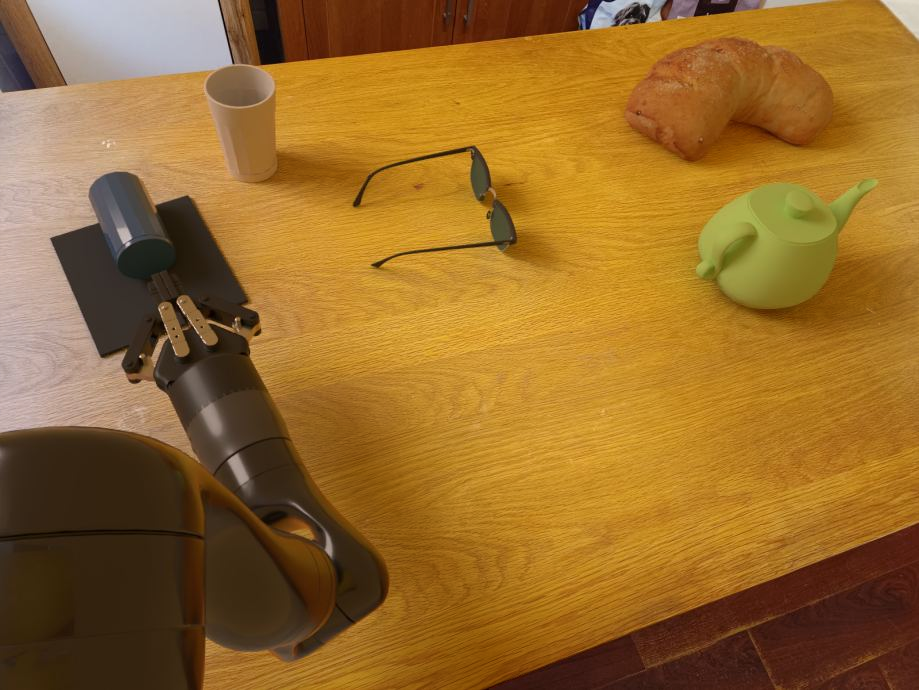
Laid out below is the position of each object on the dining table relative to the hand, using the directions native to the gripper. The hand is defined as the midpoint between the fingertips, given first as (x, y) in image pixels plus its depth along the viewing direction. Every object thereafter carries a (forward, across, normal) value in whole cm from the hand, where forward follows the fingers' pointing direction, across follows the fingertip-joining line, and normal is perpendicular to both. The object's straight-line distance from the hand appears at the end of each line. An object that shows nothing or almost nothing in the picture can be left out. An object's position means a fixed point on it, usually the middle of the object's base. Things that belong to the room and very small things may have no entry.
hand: (160, 278), depth 70 cm
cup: (+22, -17, +11) cm, 30 cm away
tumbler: (+9, 0, +7) cm, 12 cm away
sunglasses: (+3, -32, +11) cm, 34 cm away
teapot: (-22, -66, +10) cm, 71 cm away
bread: (+4, -83, +10) cm, 84 cm away
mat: (+11, 0, +11) cm, 15 cm away
